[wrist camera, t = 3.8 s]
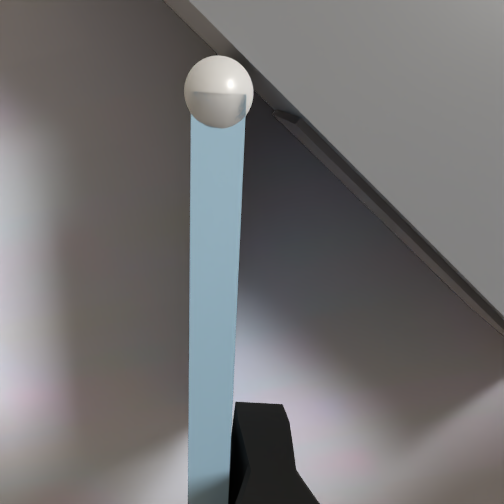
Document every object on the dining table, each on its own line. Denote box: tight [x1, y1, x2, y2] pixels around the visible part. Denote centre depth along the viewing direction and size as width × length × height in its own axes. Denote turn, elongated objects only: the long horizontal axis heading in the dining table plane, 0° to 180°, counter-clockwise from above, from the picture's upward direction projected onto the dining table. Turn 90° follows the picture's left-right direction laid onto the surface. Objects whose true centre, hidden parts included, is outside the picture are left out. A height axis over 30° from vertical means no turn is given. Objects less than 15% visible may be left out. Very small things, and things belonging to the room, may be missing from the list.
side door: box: [184, 56, 253, 504], centre depth 11 cm, size 10×1×5 cm, turn 177°
